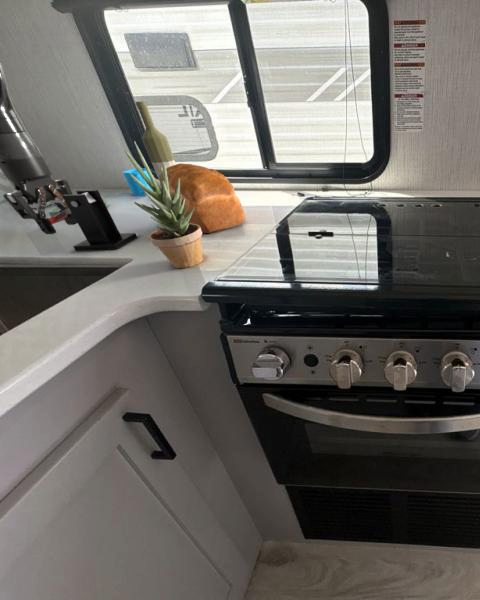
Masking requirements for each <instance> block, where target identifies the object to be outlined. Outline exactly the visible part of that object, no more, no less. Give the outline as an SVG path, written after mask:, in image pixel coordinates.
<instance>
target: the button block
mask: <svg viewBox="0 0 480 600" xmlns="http://www.w3.org/2000/svg"><path fill="white" fill-rule="evenodd" d="M102 199H103V201H104V203H105V205H106V207H107V208H108V206H109V205H108V203H107V201H106V199H105V198H102ZM59 210H61V209H58V208H57V207H56V206H55V208H53V209H52V210H51V211H49V213H48V214H49V215H50V218H51V217H53V216H56V215H58V214H59V213H60V212H59Z"/></svg>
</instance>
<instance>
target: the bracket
mask: <svg viewBox="0 0 480 600" xmlns="http://www.w3.org/2000/svg"><path fill="white" fill-rule="evenodd" d="M75 192H76V193H73V194H74V195H63V196H62V197H63V199H64V200H65V202H66V204H67V206H68V207H69V209H70V211H71V213H72V214H73V216H74V218H75V220H76V221H77V225H78V226H79V227H78V228H79V229H80V230H81V232H82V233H83V236H84V237H85V240H82V241H81V242H79V243H76V244H74V245H73V246H72V247H73V249H74V251H76V252H77V251H79V252H81V251H110V250H118V249H120V248H122V247H123V246H125V245H127V244H129V243H130V242H132V241H133V240H135V239H137V238H138V235H137V233H136V232H126V233H125V232H124V233H121V232H120V231H119V229H118V227H117V225H116V223H115V221H114V219H113V217H112V216H111V213H110V211H109V209H108V206H107V207H106V205H105V203H104V201H103V199H104V198H102V196H101V193H100V192H99V190H98V189H78V190H76V191H75ZM86 192H88V193H89V194H90V195H91V196H92V197H93V198H94V199H95V200H96V202H94V203H93V204H91V205H90V203H89V201H88V199H87V198H86V196H85V194H83V193H86Z"/></svg>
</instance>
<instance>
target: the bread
mask: <svg viewBox="0 0 480 600" xmlns="http://www.w3.org/2000/svg"><path fill="white" fill-rule="evenodd" d="M166 172H167V177H168V184H169V192H170V196H171V197H172V196H173V194H174V192H175V190H176V187H177V182H178V178H179V180H180V191H179V196H180V194H181V195H182V197H181V202H182V201H183V199H185V202H184V208H183V211H182V213H183V212H184V210H185V208H186V206H187V205H189V206H188V209H187V211H186V213H185V215H184V217H185V216H186V215H187V214H188V213H189V212H190V211H191V210H192V209H193V208H194V207H195V208H194V210H193V212H192V215H191V218H190V220H189V222H188V223H192V224H198V225H199V226H200V228H201V231H202V234H203V233H204V234H211V233H217V232H220V231H224V230H227V229H230V228H233V227H235V226H239V225H241V224H242V223H244V222H245V220H246V214H245V211H244V208H243V205H242V203H241V201H240V199H239V197H238V196H237V195H236V192H235V187H234V186H233V184H232V183H231V182H230V180H229V179H228V178H227V177H226V176H225V175H224V174H222V173H221V172H219V171H217V170H215V169H214V168H209V167H206V166H202V165H197V164H192V163H181V162H179V163H176V165H173V166H170V167H167V168H166ZM158 180H160V181H159V187H160V188H162V184H161V175H160V176H159V178H158Z"/></svg>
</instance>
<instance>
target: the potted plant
mask: <svg viewBox="0 0 480 600" xmlns="http://www.w3.org/2000/svg"><path fill="white" fill-rule="evenodd" d="M133 143H134V146H135V148H136V151H137V153H138V156H139V158H140V161H141V163H142V165H143V167H144V168H145V169H146V171H147V173H148V175H149V177H150V179H151V180H150V179H149V178H148V177H147V175H146V174H145V173H144V172H143V170H142V169H143V168H141V166H140V165H139V164H138V163H137V162H136V161H135V159H134V158H133V157H132V156H131V155H130V153H129V152H128V151H127V150H126V149H124V153H125V154H126V156H127V157H128V159H129V160H130V161H129V162H131V165H133V167H134V169H137V171H138V172H139V174H140V175H141V176H142V178H143V179H144V180H145V182H146V183H147V184H148V185H149V187H150V188H151V189H152V190H150V189H149V188H148V187H146V186H145V185H144V184H143V183H141V182H140V181H139V180H138V179H137V178H135V177H134V176H133V175H132V174H131V173H129V172H128V173H129V174H130V176H131V177H132V178H133V179H134V180H135V182H136V183H137V184H138V185H139V186H140V187H141V188H142V189H143V190H144V192H145V194H146V195H145V196H147V198H148V199H149V200H150V201H151V202H152V204H151V205H150V206H148V205H146V204H144V203H141V204H140V203H138V202H137V201H133V204H135V205H136V206H137V207H138V208H140V209H141V210H143V211H145V212H147V213H148V214H150V215H152V216H150V219H152V220H153V221H155V222H157V223H158V224H159V225H160V226H161V227H160V226H158V225H156V226H155V227H156V228H157V229H156V230H155V231H153V232H152V233H151V234H149V236H148V239H149V240H150V242H151V243H152V245H153V246H154V247H157V248H158V250H159V251H160V252H161V253H162V254H163V255H164V256H165V258H166V259H167V260H168V261H169V262H170V264H171V265H172V266H173V267H174V268H177V269H186V268H190V267H195V266H196V265H198V264H201V263H202V262H203V260H204V257H203V245H202V236H203V233H202V231H201V228H200V226H199V225H198V224H192V223H188V222H189V220H190V218H191V215H192V212H193V210H194V208H195V207H194V208H193V209H192V210H191V211H190V212H189V213H188V214H187V215H186V216H185V217H184V215H185V213H186V211H187V209H188V206H189V205H187V206H186V208H185V210H184V212H183V213H182V211H183V208H184V202H185V199H183V201H182V202H181V197H182V195H181V194H180V196H179V191H180V180H179V178H178V182H177V187H176V190H175V192H174V194H173V196H172V197H171V196H170V192H169V184H168V177H167V172H166V167H165V164H164V161H163V169H162V168H161V184H162V187H161V186H160V184H159V183H158V182H157V180H156V178H155V176H154V174H153V173H152V170H151V169H150V167H149V165H148V163H147V161H146V160H145V157H144V155H143V154H142V152H141V150H140V148H139V146H138V145H137V142H136V141H135V140H134V141H133ZM153 204H154V205H153Z"/></svg>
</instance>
